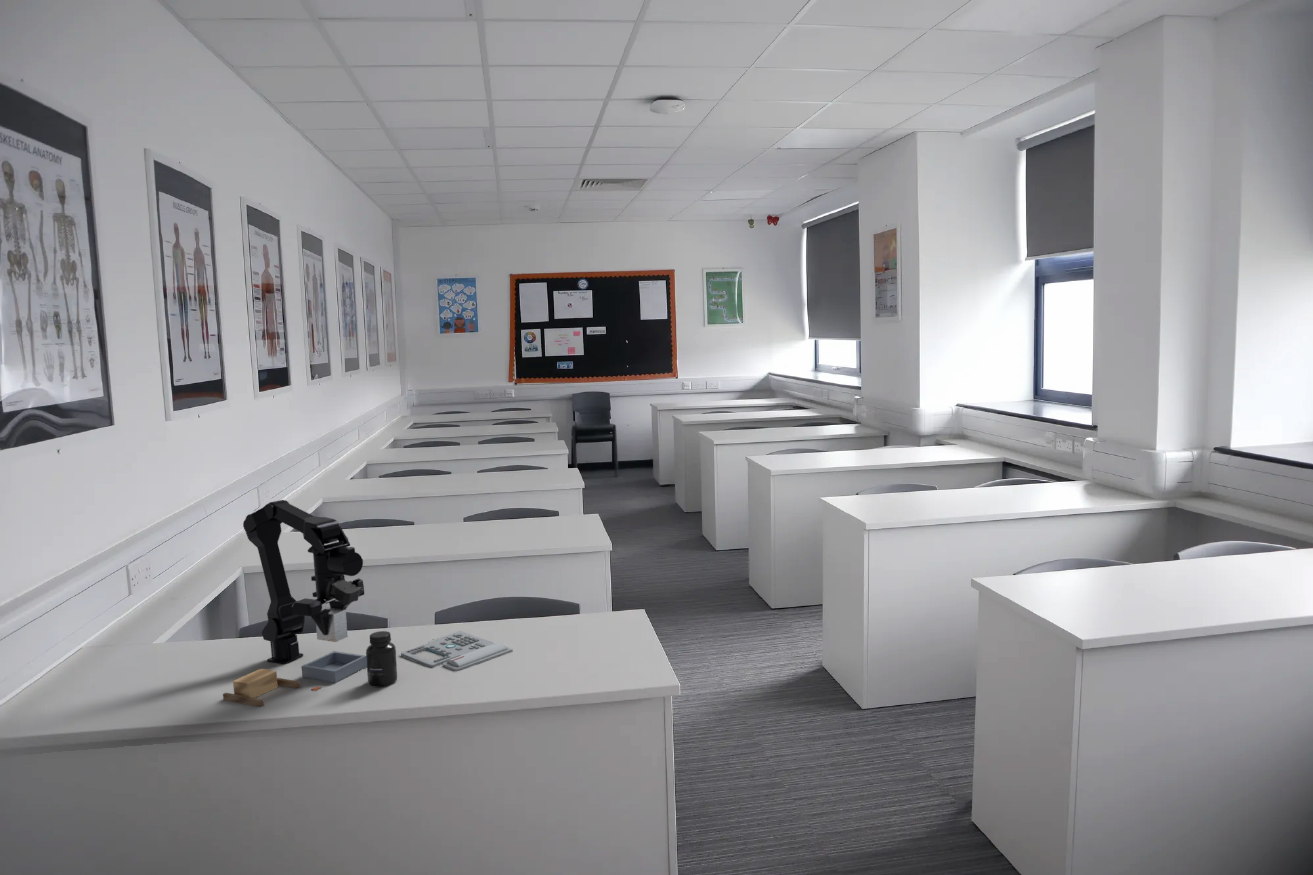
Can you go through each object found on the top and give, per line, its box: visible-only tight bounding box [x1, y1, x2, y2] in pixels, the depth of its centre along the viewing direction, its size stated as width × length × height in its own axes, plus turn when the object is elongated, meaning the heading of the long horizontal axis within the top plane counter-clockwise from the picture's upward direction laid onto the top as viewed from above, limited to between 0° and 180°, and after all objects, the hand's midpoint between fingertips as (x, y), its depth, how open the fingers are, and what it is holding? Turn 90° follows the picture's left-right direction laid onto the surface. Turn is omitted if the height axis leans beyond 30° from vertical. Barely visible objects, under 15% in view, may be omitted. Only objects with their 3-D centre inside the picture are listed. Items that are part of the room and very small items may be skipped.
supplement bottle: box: [365, 630, 398, 688], centre depth 206 cm, size 7×7×12 cm
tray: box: [300, 650, 367, 684], centre depth 214 cm, size 11×11×3 cm
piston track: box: [222, 677, 322, 708], centre depth 201 cm, size 17×13×2 cm
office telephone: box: [400, 630, 513, 672], centre depth 224 cm, size 23×3×20 cm
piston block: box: [232, 668, 279, 698], centre depth 202 cm, size 5×8×4 cm, turn 157°
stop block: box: [315, 606, 349, 643], centre depth 212 cm, size 6×4×7 cm, turn 67°
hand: (331, 632), depth 213 cm, fingers closed on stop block, 4 cm apart
